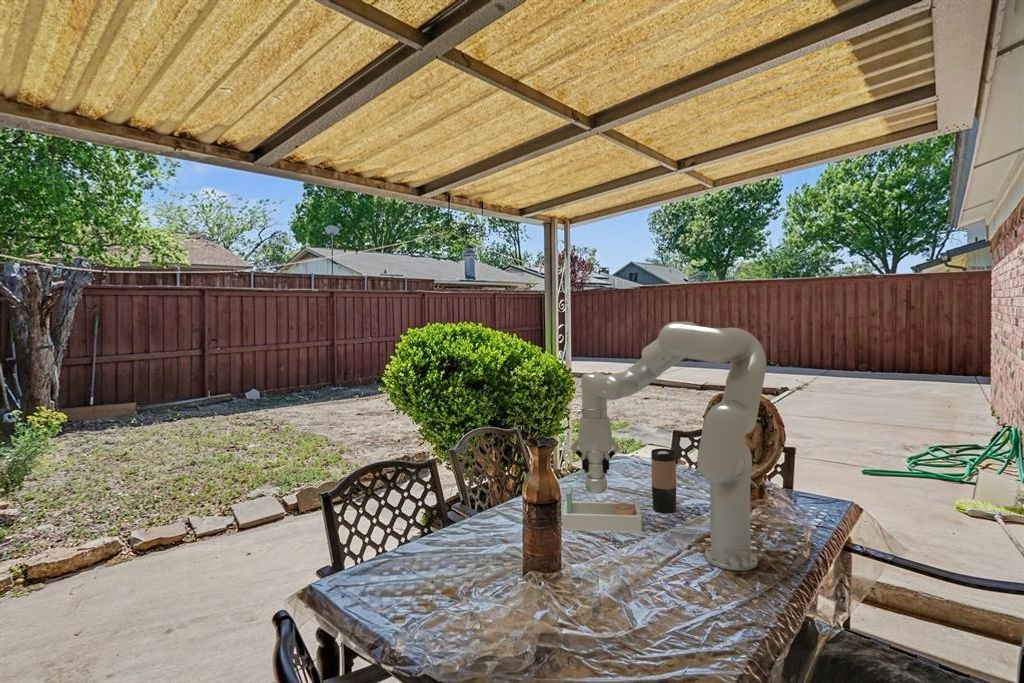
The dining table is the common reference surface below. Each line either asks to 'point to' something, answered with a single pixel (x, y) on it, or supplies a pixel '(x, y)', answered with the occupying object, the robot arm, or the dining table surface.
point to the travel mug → (663, 480)
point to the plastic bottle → (595, 471)
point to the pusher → (569, 499)
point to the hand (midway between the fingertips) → (595, 471)
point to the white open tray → (601, 517)
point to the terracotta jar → (623, 509)
